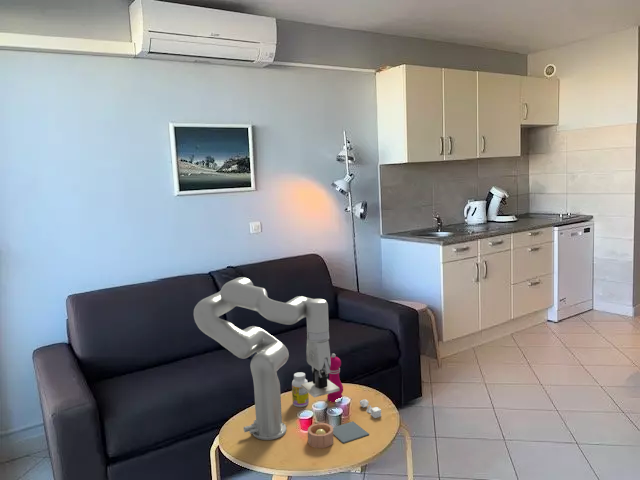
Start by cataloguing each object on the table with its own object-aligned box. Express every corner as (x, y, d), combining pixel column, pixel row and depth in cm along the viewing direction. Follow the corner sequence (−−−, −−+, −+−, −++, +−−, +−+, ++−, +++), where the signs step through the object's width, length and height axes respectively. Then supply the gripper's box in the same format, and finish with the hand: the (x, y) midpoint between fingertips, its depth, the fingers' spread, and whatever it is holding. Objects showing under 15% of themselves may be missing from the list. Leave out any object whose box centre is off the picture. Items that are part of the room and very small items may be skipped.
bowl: (315, 450, 183) (315, 438, 182) (303, 439, 191) (303, 427, 190) (338, 443, 187) (337, 431, 186) (325, 432, 195) (325, 420, 194)
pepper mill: (339, 394, 226) (338, 349, 223) (346, 401, 219) (345, 355, 216) (323, 397, 223) (322, 352, 220) (330, 404, 217) (328, 357, 214)
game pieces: (381, 417, 206) (381, 409, 205) (374, 419, 204) (374, 411, 204) (365, 404, 216) (365, 397, 216) (358, 406, 215) (358, 399, 214)
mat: (343, 443, 187) (343, 442, 187) (327, 430, 196) (327, 429, 196) (369, 434, 192) (369, 433, 192) (353, 422, 202) (353, 421, 202)
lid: (314, 397, 179) (313, 380, 178) (301, 387, 188) (300, 370, 187) (339, 390, 184) (339, 374, 183) (325, 380, 193) (325, 364, 192)
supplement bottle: (290, 401, 220) (289, 372, 218) (306, 399, 222) (305, 370, 220) (295, 408, 214) (293, 378, 212) (310, 406, 216) (309, 376, 214)
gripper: (297, 330, 189) (300, 379, 191) (319, 343, 174) (321, 396, 177) (316, 326, 192) (318, 374, 195) (339, 339, 178) (341, 391, 180)
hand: (320, 384), depth 186 cm, fingers closed on lid, 3 cm apart
